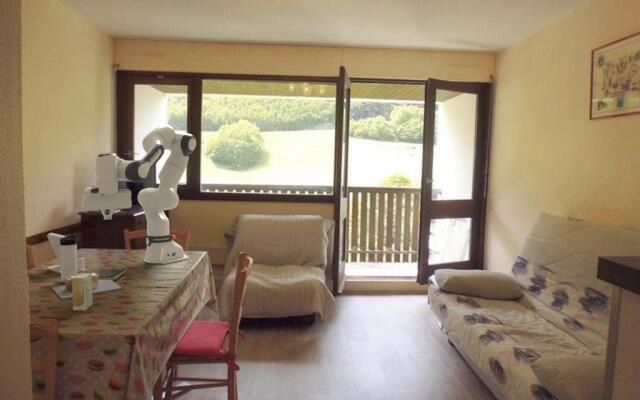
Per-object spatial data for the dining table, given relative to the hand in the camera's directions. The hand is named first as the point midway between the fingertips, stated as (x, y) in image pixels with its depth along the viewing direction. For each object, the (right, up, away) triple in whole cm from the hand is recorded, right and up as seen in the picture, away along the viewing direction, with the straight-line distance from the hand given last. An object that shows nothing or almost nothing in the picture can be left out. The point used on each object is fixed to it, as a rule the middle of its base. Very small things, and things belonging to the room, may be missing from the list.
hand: (107, 219), depth 189 cm
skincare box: (+9, -31, -36) cm, 48 cm away
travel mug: (-14, -27, -5) cm, 31 cm away
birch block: (+1, -25, -12) cm, 28 cm away
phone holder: (-27, -25, +13) cm, 39 cm away
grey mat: (-1, -29, -14) cm, 32 cm away
